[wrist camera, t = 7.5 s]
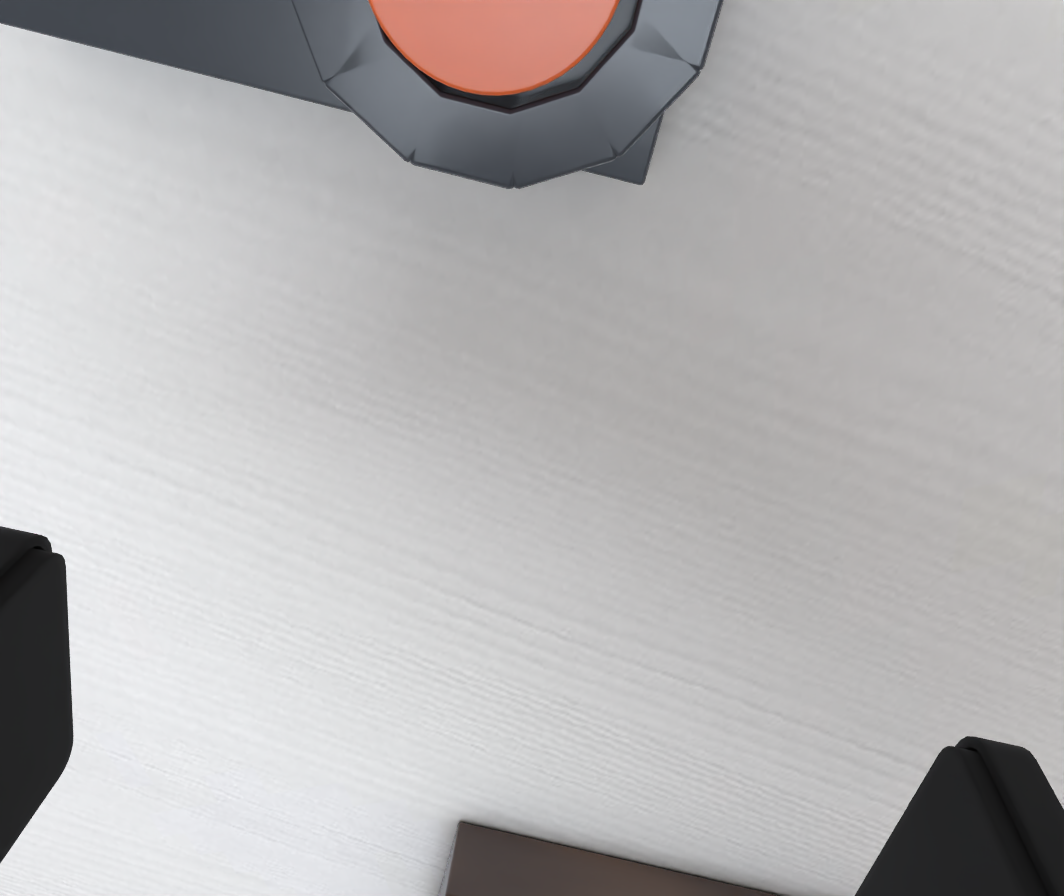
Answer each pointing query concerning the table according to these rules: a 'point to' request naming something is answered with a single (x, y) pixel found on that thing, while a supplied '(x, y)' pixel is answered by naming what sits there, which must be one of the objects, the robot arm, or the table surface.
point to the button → (494, 39)
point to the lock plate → (559, 871)
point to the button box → (417, 77)
